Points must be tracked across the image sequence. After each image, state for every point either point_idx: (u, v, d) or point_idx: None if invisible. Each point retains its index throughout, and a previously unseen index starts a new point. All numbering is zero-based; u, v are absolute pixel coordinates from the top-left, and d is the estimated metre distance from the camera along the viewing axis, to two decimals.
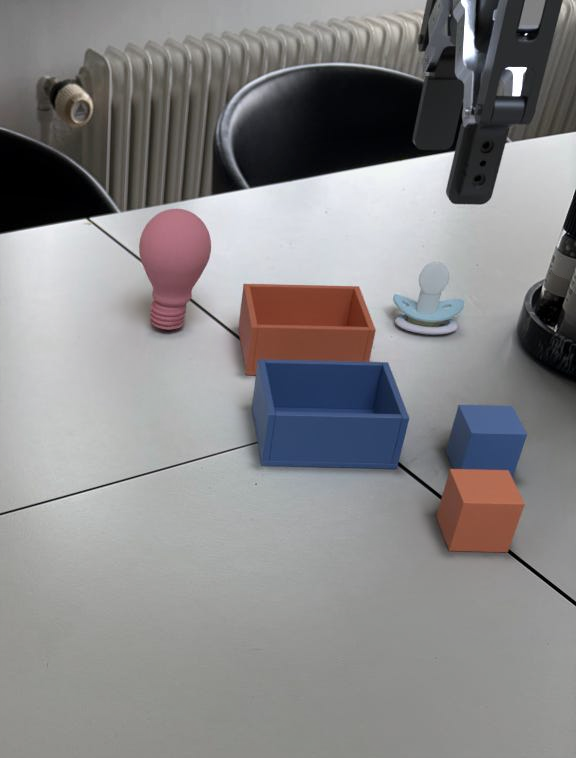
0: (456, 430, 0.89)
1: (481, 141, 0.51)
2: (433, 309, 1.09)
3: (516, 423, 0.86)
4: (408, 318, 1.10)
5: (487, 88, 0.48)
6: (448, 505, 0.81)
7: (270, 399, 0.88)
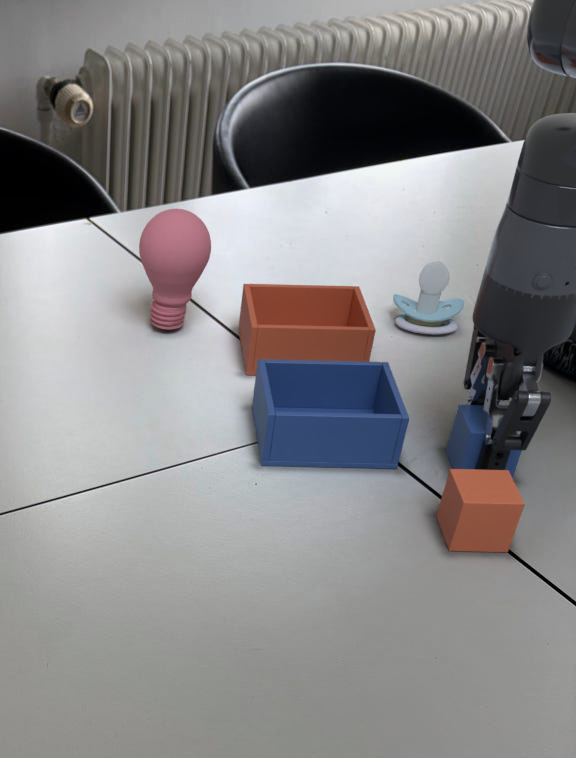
0: (456, 430, 0.89)
1: (496, 452, 0.85)
2: (433, 309, 1.09)
3: None
4: (408, 318, 1.10)
5: (500, 438, 0.82)
6: (448, 505, 0.81)
7: (270, 399, 0.88)
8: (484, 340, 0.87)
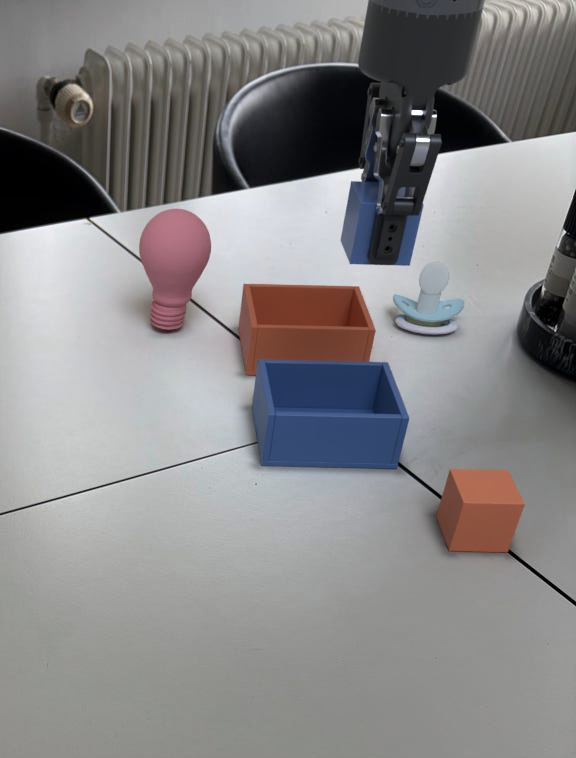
0: (349, 210, 0.80)
1: (388, 224, 0.76)
2: (433, 309, 1.09)
3: None
4: (408, 318, 1.10)
5: (389, 197, 0.73)
6: (448, 505, 0.81)
7: (270, 399, 0.88)
8: None
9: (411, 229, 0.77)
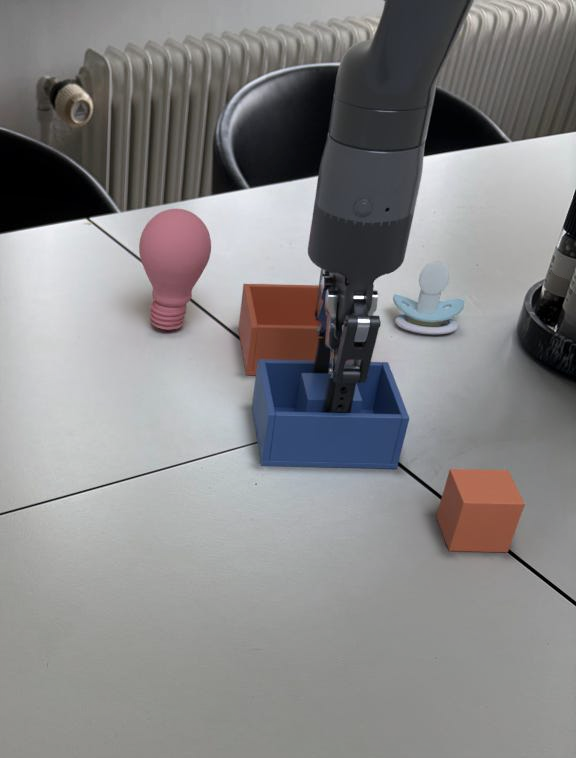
0: (300, 398, 0.92)
1: (340, 387, 0.85)
2: (433, 309, 1.09)
3: None
4: (408, 318, 1.10)
5: (338, 368, 0.82)
6: (448, 505, 0.81)
7: (270, 399, 0.88)
8: None
9: None
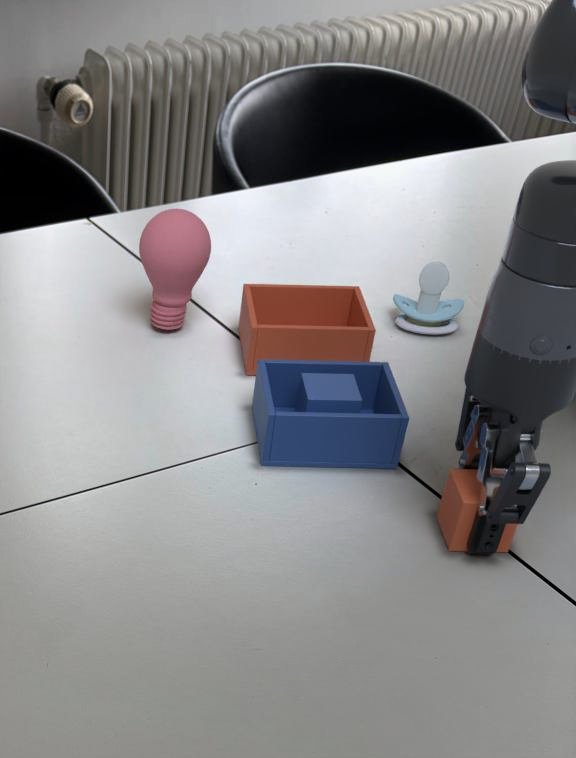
0: (300, 398, 0.92)
1: (490, 524, 0.78)
2: (433, 309, 1.09)
3: (353, 390, 0.89)
4: (408, 318, 1.10)
5: (495, 511, 0.74)
6: (448, 505, 0.81)
7: (270, 399, 0.88)
8: (478, 399, 0.80)
9: None
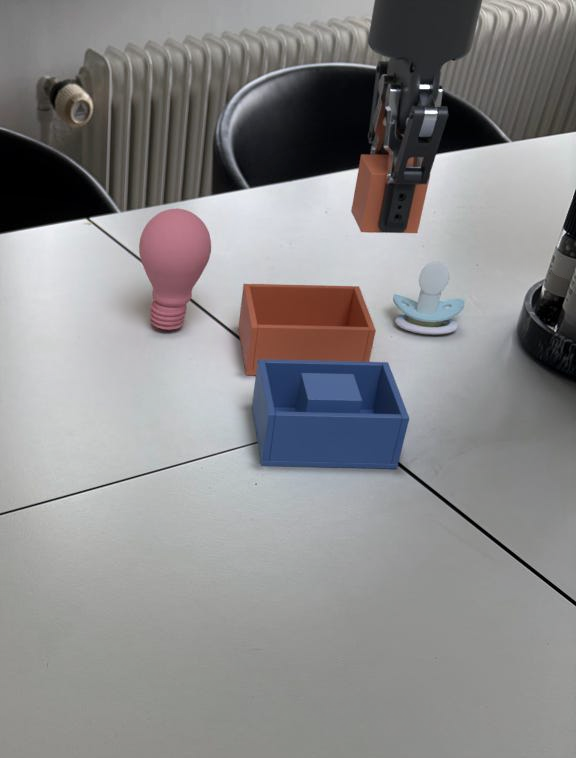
0: (300, 398, 0.92)
1: (398, 193, 0.81)
2: (433, 309, 1.09)
3: (353, 390, 0.89)
4: (408, 318, 1.10)
5: (399, 167, 0.78)
6: (360, 189, 0.84)
7: (270, 399, 0.88)
8: None
9: None
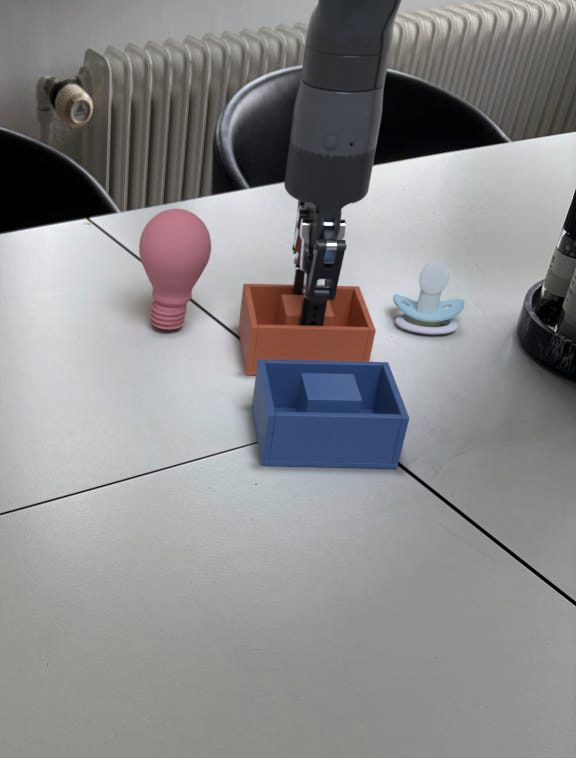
0: (300, 398, 0.92)
1: (312, 305, 0.97)
2: (433, 309, 1.09)
3: (353, 390, 0.89)
4: (408, 318, 1.10)
5: (310, 287, 0.94)
6: (280, 323, 1.03)
7: (270, 399, 0.88)
8: None
9: None
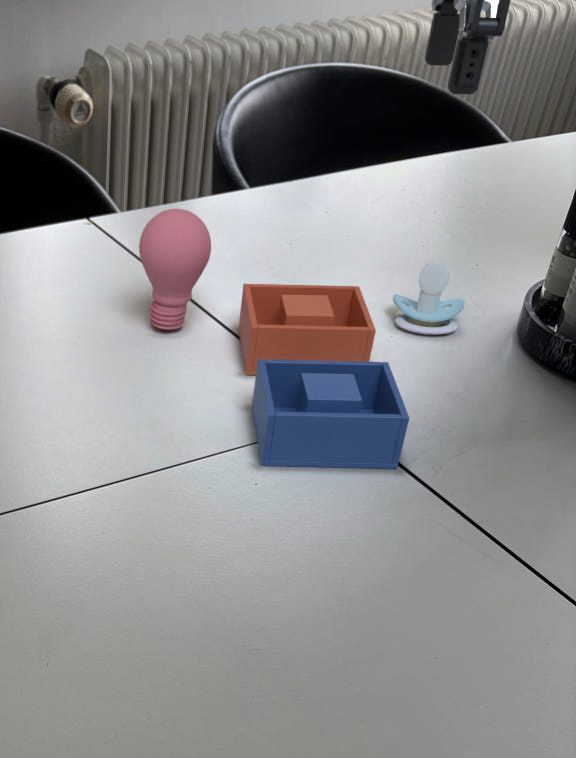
0: (300, 398, 0.92)
1: (471, 49, 0.79)
2: (433, 309, 1.09)
3: (353, 390, 0.89)
4: (408, 318, 1.10)
5: (474, 11, 0.76)
6: (280, 323, 1.03)
7: (270, 399, 0.88)
8: None
9: None
